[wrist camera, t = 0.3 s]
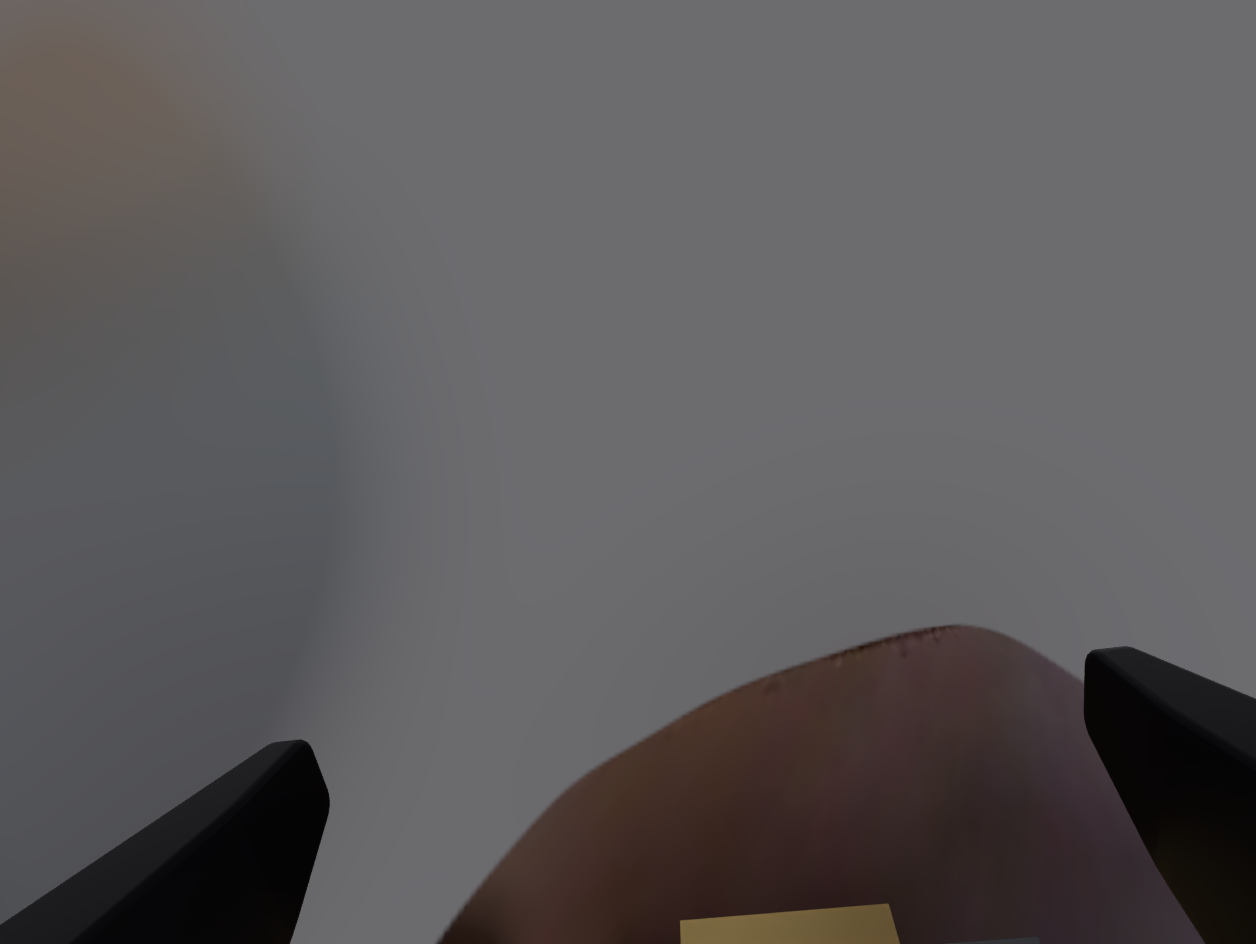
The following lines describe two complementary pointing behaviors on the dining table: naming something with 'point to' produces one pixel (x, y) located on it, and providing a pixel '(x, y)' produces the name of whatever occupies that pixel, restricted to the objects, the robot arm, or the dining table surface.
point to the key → (797, 927)
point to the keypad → (1005, 941)
